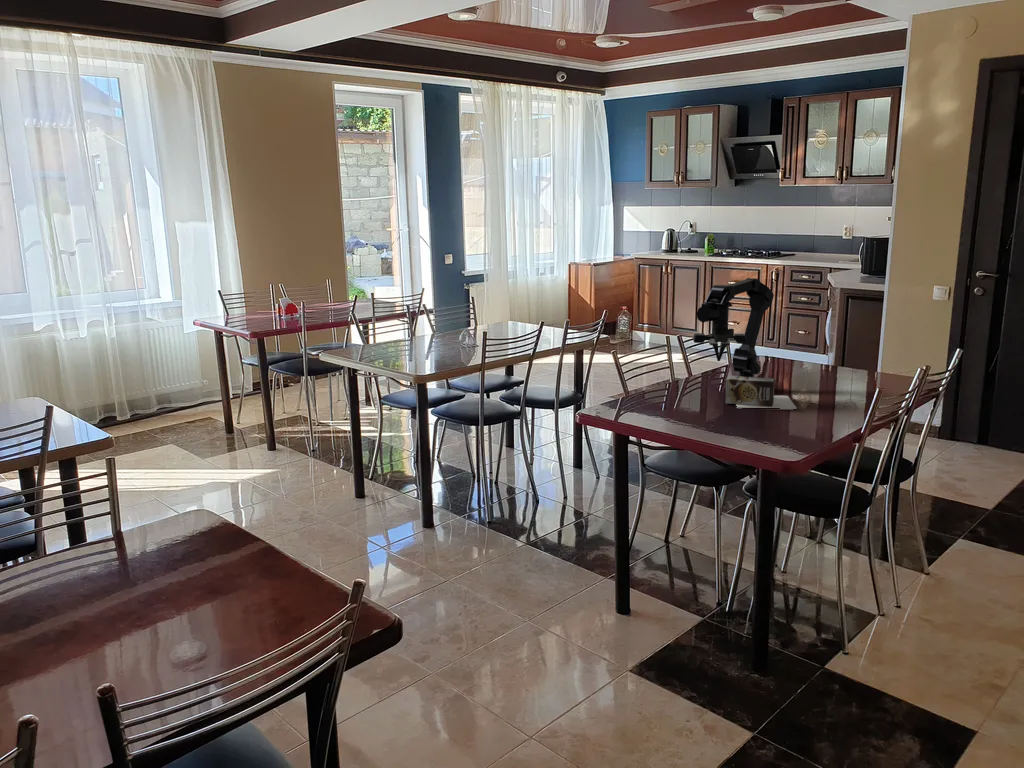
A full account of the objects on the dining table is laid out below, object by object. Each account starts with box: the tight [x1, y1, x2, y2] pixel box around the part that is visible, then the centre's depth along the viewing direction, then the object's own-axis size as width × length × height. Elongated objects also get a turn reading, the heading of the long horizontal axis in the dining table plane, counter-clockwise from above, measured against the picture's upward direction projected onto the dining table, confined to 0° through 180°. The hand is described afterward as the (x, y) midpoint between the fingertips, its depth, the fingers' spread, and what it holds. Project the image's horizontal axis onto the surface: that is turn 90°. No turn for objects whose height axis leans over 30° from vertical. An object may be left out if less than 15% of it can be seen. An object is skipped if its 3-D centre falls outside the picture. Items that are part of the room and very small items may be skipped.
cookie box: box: [725, 375, 776, 407], centre depth 281 cm, size 9×6×16 cm
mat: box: [735, 395, 797, 410], centre depth 284 cm, size 18×20×1 cm
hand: (718, 361), depth 295 cm, fingers closed
